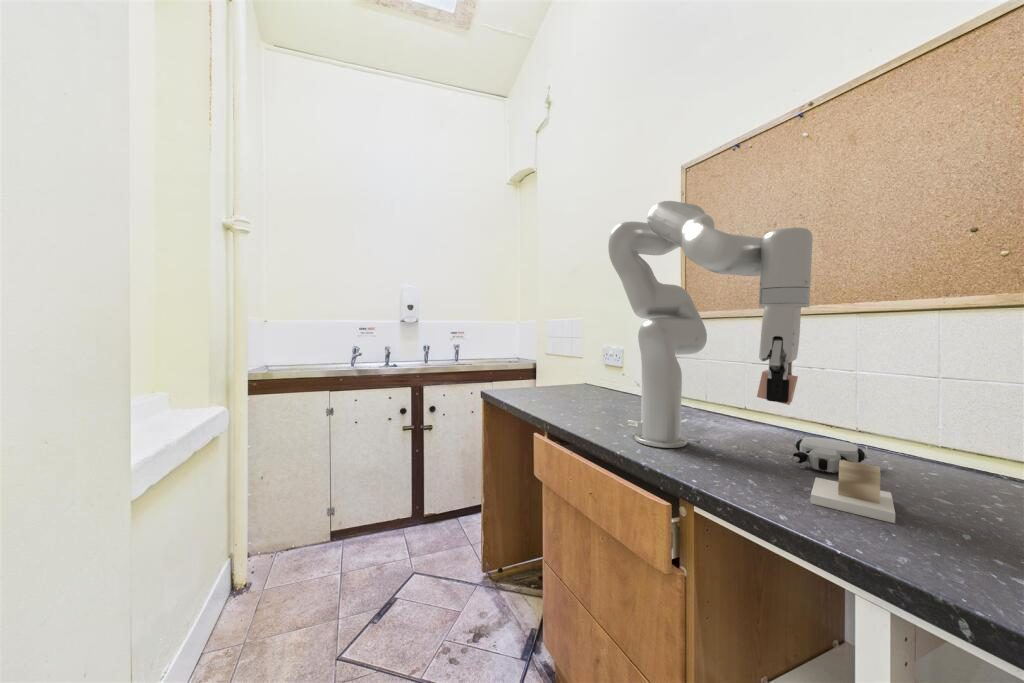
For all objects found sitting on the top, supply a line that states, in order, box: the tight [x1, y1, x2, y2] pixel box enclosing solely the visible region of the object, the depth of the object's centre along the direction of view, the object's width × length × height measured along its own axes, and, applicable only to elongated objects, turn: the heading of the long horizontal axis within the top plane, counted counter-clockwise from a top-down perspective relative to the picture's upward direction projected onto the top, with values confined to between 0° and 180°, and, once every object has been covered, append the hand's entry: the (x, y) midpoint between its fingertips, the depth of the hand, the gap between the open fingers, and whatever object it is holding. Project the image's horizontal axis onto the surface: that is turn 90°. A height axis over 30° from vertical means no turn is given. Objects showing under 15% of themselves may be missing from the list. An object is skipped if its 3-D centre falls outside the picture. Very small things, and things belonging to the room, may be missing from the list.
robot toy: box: [788, 435, 868, 474], centre depth 83 cm, size 12×4×15 cm
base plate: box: [810, 477, 896, 524], centre depth 65 cm, size 10×10×2 cm
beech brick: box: [837, 460, 882, 504], centre depth 64 cm, size 5×4×5 cm
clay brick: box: [756, 369, 799, 406], centre depth 72 cm, size 5×4×5 cm
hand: (779, 398), depth 72 cm, fingers closed on clay brick, 4 cm apart
